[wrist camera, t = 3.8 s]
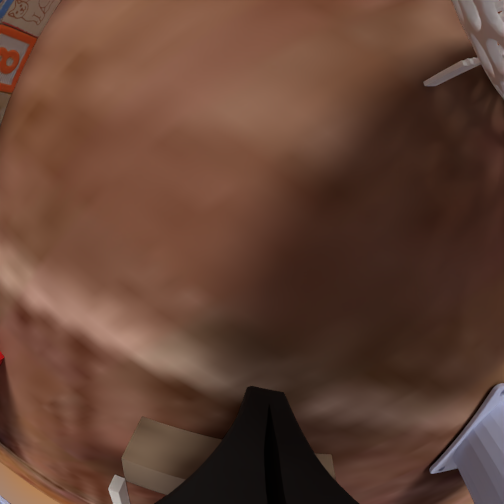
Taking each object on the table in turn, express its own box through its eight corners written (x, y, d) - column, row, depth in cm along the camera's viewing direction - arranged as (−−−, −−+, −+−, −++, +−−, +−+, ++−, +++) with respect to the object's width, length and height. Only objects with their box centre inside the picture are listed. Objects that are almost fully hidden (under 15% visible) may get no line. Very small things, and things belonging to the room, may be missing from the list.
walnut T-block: (331, 454, 12) (338, 497, 9) (286, 507, 14) (287, 540, 11) (142, 416, 12) (121, 458, 9) (144, 478, 14) (131, 510, 11)
